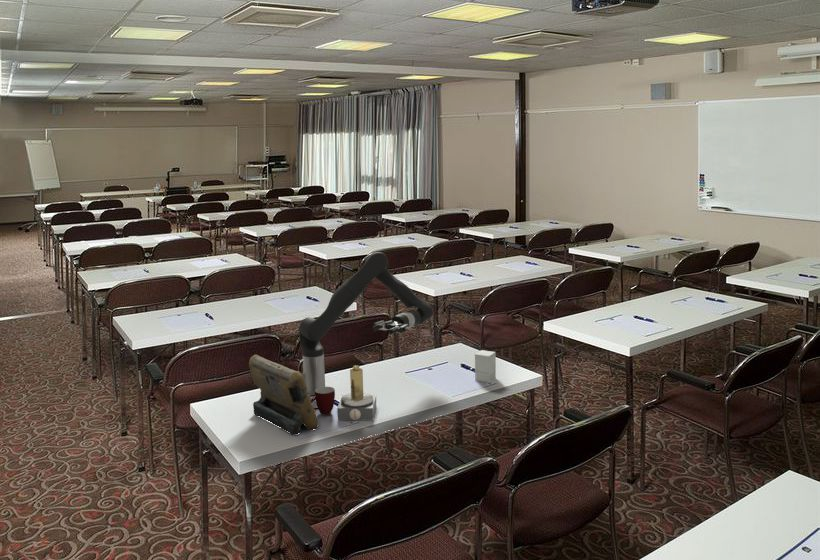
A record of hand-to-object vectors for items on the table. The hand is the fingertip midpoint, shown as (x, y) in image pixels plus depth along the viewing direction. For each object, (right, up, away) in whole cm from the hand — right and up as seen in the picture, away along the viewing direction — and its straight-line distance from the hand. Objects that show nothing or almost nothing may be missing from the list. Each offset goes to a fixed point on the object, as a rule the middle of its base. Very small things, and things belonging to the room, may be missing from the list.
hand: (381, 330), depth 283 cm
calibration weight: (-9, -27, -11) cm, 30 cm away
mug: (-23, -33, -10) cm, 42 cm away
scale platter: (-9, -27, -11) cm, 31 cm away
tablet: (-38, -35, -16) cm, 54 cm away
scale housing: (-9, -33, -9) cm, 35 cm away
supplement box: (+47, -24, +27) cm, 59 cm away
